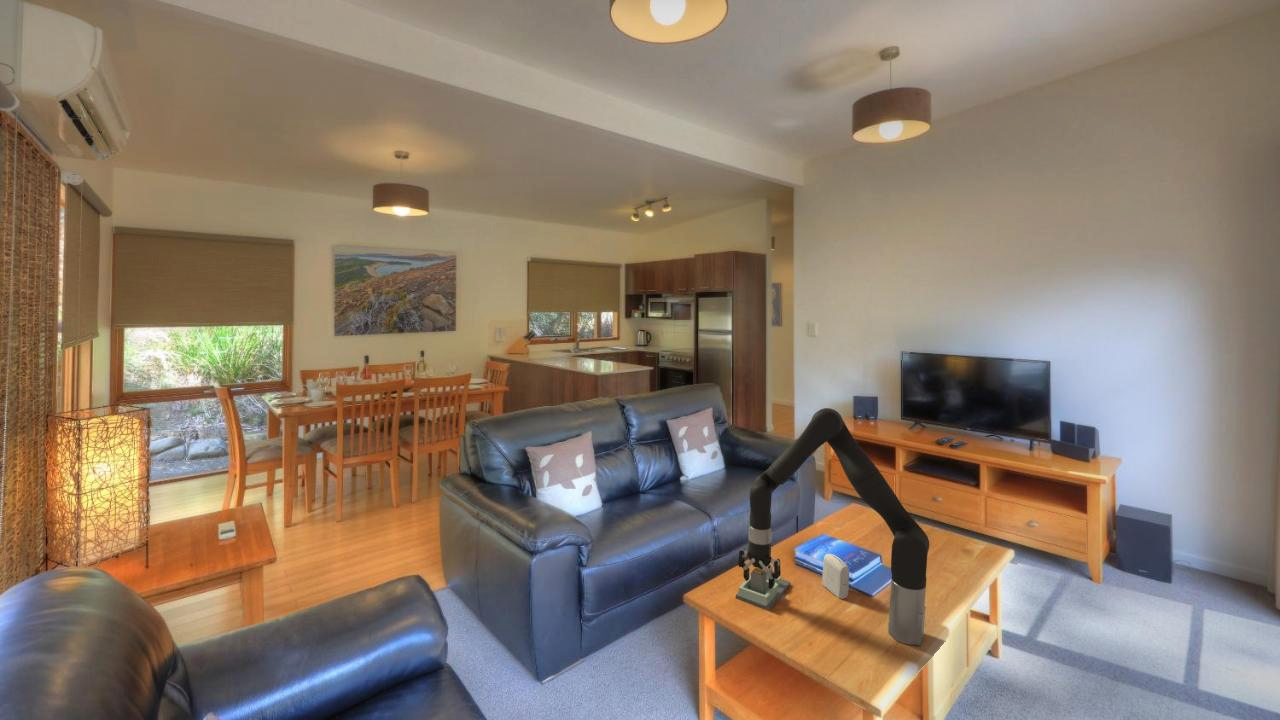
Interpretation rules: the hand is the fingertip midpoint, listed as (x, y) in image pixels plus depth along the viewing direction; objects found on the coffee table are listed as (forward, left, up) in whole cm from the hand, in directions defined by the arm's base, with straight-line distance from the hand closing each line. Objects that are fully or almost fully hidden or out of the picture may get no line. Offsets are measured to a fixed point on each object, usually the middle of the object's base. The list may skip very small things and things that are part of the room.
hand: (758, 583), depth 174 cm
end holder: (0, 0, -4) cm, 4 cm away
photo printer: (-20, -20, -5) cm, 28 cm away
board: (0, -4, -5) cm, 7 cm away
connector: (0, 0, -4) cm, 4 cm away
